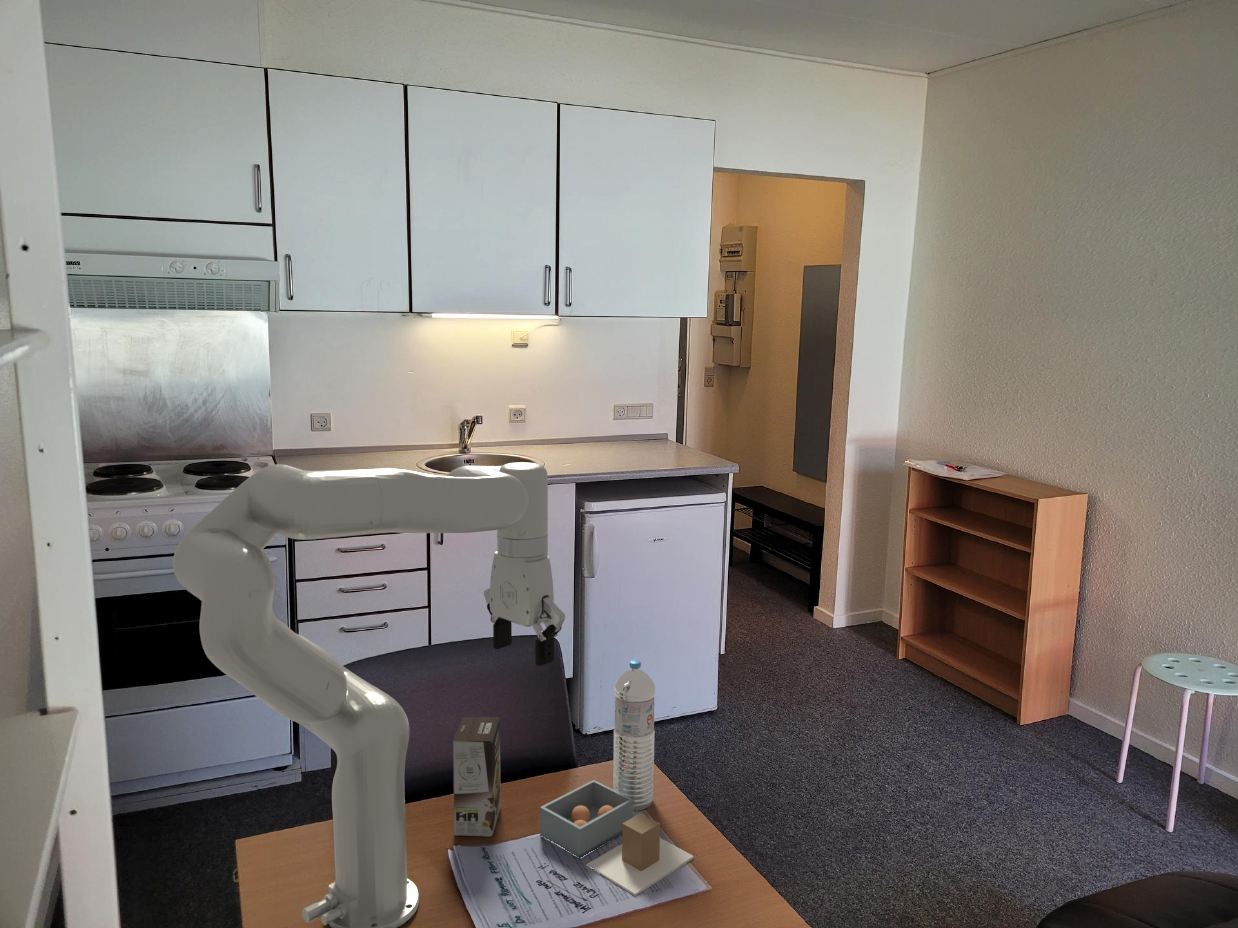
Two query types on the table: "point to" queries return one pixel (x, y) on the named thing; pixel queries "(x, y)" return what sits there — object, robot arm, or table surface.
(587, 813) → the ball
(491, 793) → the coffee box
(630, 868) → the lid
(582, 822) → the ball
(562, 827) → the box
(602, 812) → the ball
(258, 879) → the table surface
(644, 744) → the water bottle
